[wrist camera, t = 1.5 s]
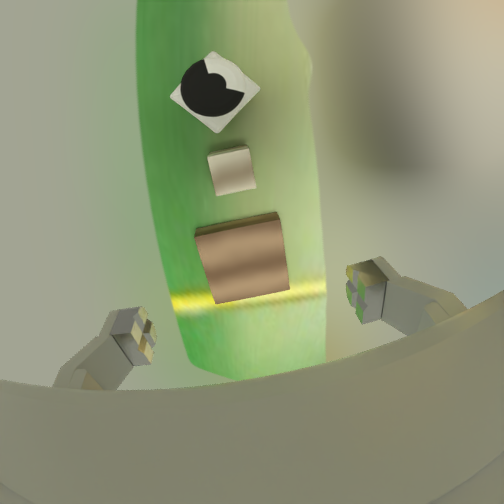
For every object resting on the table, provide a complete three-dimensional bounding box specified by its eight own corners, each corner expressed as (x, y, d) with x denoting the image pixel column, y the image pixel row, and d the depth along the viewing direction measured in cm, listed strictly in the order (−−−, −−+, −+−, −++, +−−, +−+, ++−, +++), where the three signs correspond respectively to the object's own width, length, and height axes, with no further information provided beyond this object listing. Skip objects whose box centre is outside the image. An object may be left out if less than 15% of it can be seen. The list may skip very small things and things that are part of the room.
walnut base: (196, 228, 40) (194, 237, 37) (276, 212, 40) (280, 219, 37) (215, 293, 45) (215, 304, 43) (286, 279, 45) (289, 289, 43)
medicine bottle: (219, 131, 34) (215, 137, 23) (179, 100, 31) (157, 93, 20) (255, 93, 31) (268, 82, 21) (215, 61, 29) (210, 36, 18)
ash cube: (209, 152, 35) (207, 157, 30) (246, 144, 35) (248, 148, 30) (217, 186, 37) (216, 196, 33) (252, 179, 37) (256, 188, 33)
